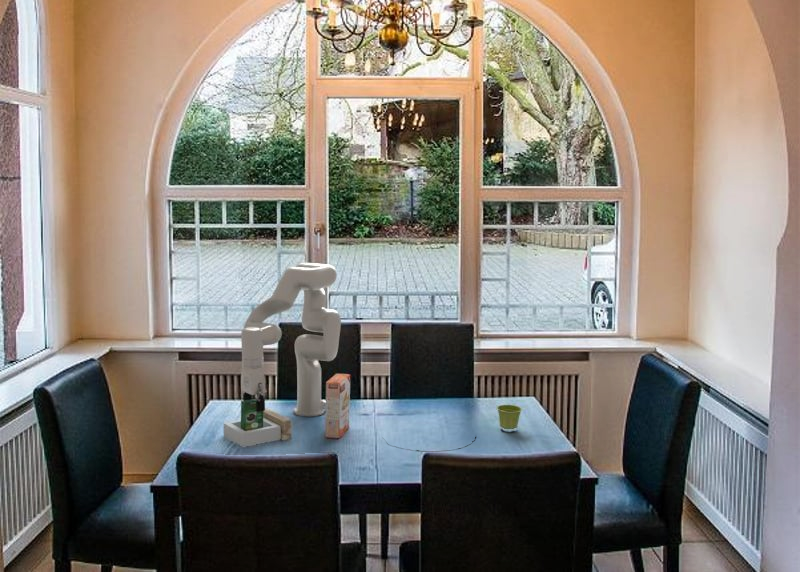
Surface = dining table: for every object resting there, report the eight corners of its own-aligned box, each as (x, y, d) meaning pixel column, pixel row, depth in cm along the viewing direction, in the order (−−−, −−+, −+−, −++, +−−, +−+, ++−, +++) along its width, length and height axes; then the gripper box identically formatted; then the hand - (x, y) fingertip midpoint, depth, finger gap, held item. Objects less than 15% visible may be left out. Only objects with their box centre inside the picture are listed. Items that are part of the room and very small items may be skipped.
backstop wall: (266, 426, 306) (266, 408, 305) (291, 438, 292) (291, 420, 291) (259, 427, 304) (259, 409, 303) (284, 440, 290) (283, 421, 289)
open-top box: (260, 428, 303) (260, 415, 302) (280, 439, 291) (280, 426, 291) (223, 436, 294) (223, 423, 293) (243, 447, 282) (242, 433, 281)
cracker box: (340, 439, 293) (340, 383, 290) (324, 438, 294) (324, 381, 291) (350, 427, 306) (351, 373, 303) (335, 426, 307) (335, 372, 304)
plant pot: (524, 428, 308) (525, 406, 307) (516, 435, 300) (517, 413, 299) (500, 425, 312) (501, 403, 311) (492, 432, 304) (493, 409, 302)
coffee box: (260, 431, 296) (260, 397, 294) (264, 434, 294) (263, 398, 292) (240, 436, 291) (239, 400, 289) (244, 438, 289) (243, 402, 287)
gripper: (232, 358, 293) (233, 404, 296) (255, 368, 280) (256, 416, 283) (250, 355, 298) (252, 400, 301) (274, 365, 285) (275, 411, 287)
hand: (254, 407), depth 292 cm, fingers open, 9 cm apart
